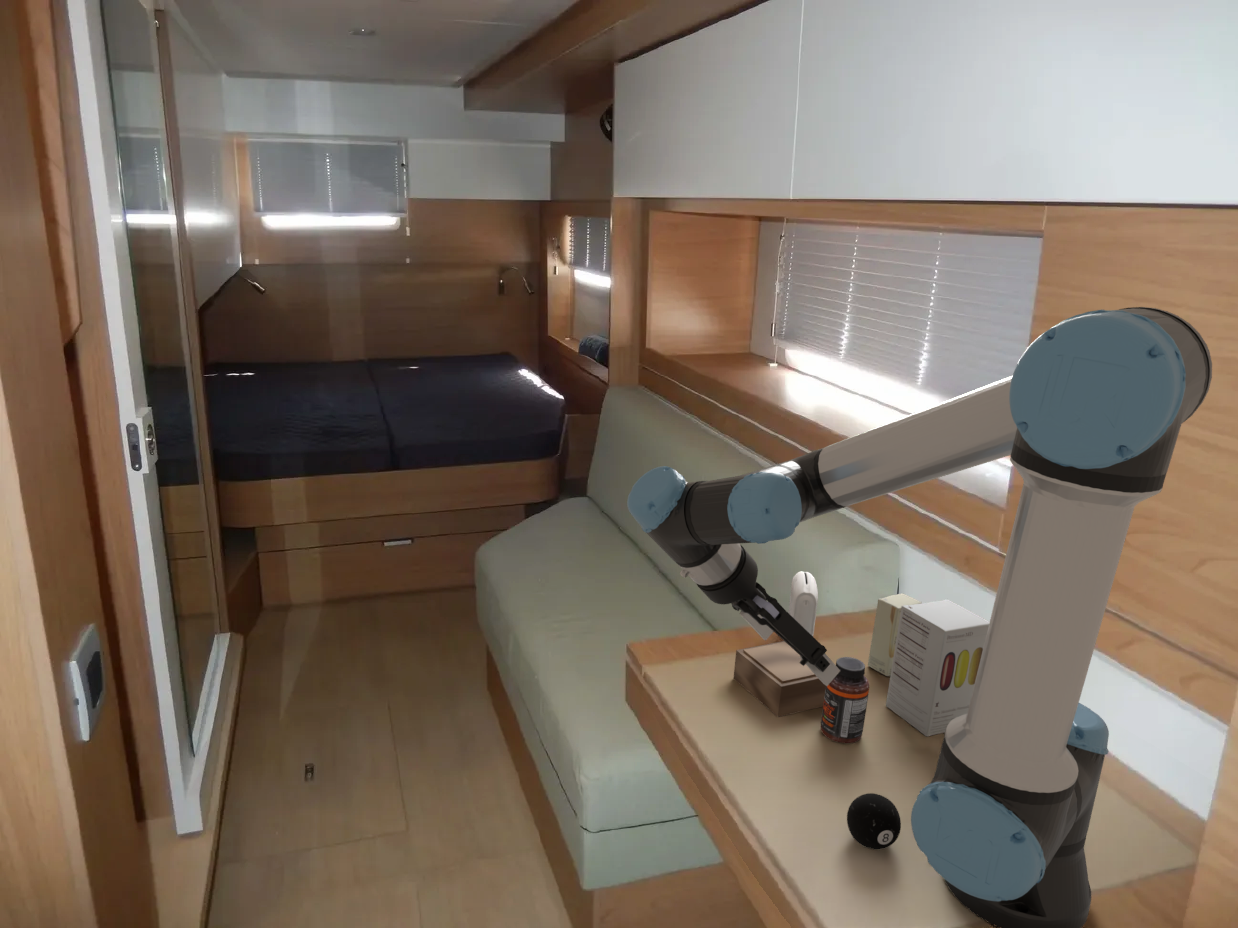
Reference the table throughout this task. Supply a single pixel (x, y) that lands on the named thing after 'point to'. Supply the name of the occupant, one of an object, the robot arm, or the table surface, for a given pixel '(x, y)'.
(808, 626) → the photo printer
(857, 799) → the billiard ball
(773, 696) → the wooden box
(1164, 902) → the table surface
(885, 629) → the skincare box
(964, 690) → the supplement box
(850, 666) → the supplement bottle
